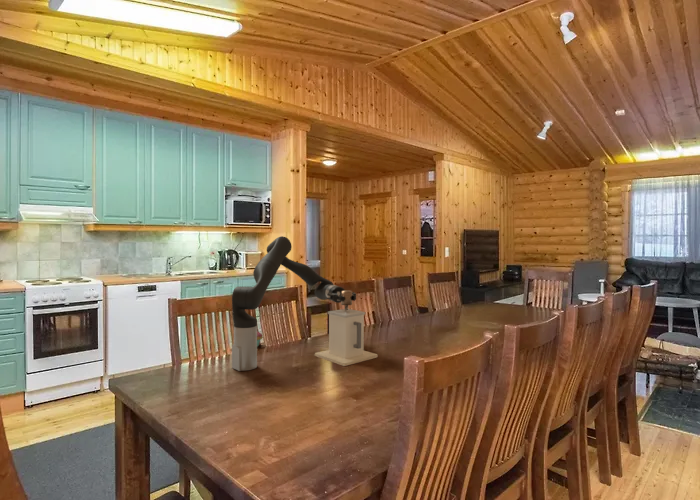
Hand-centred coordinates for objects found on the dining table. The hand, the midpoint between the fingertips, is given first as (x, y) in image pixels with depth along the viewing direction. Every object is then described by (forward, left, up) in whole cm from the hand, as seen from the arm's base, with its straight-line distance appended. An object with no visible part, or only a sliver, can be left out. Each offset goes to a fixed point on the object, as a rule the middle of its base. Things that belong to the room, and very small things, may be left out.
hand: (348, 298), depth 195 cm
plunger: (+1, +2, -21) cm, 21 cm away
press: (+1, +2, -27) cm, 27 cm away
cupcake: (-21, +45, -27) cm, 57 cm away
